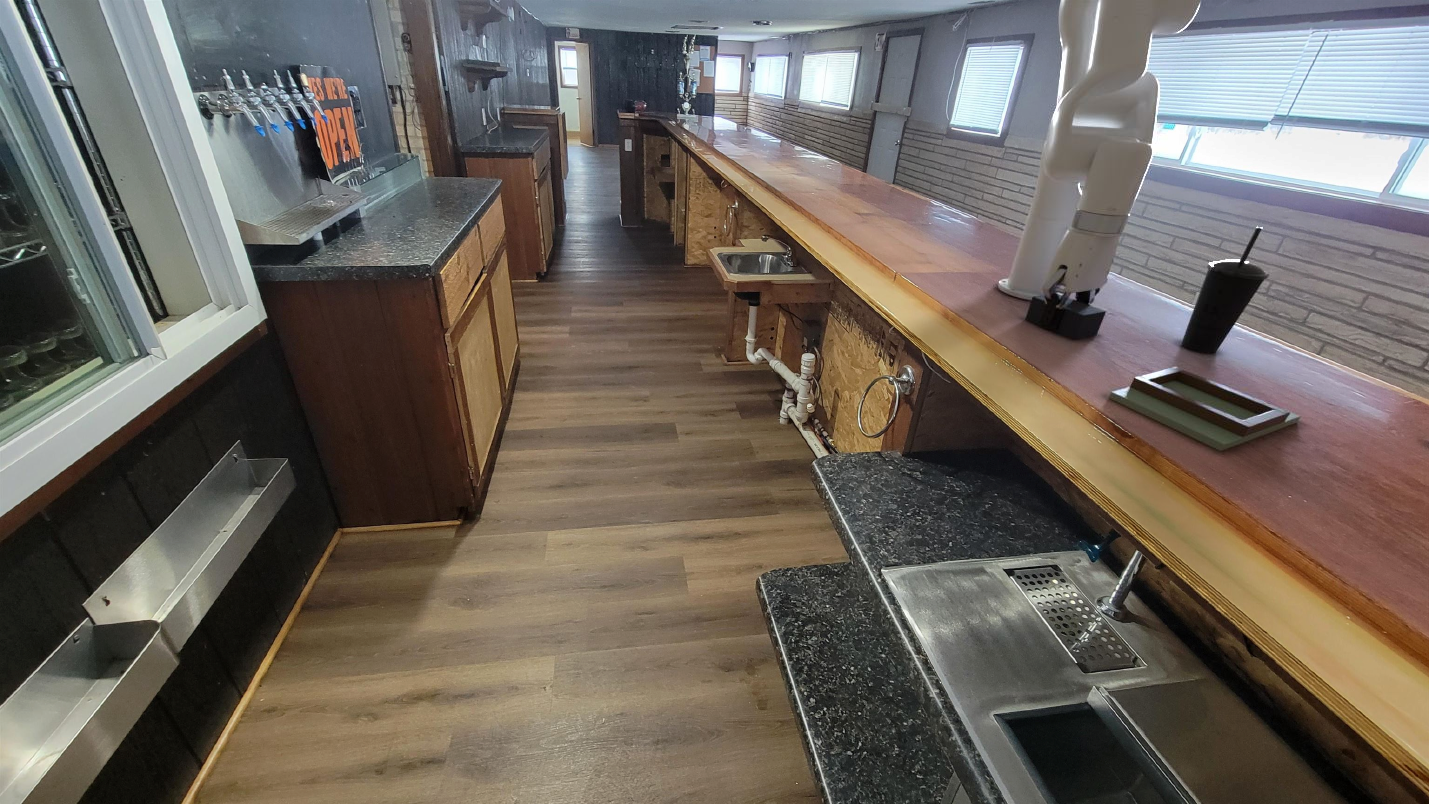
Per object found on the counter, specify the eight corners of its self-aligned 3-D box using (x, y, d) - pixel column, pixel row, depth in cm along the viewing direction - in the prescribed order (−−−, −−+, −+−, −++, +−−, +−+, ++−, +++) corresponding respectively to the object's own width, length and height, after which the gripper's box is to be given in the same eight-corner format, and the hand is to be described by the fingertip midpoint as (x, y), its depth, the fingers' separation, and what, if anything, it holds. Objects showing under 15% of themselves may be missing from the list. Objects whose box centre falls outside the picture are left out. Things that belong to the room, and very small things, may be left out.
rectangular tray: (1184, 377, 85) (1191, 362, 84) (1297, 422, 74) (1307, 406, 73) (1108, 397, 79) (1115, 382, 77) (1220, 451, 68) (1231, 433, 66)
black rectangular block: (1024, 319, 105) (1032, 296, 102) (1046, 315, 107) (1054, 293, 105) (1074, 340, 97) (1083, 315, 94) (1096, 335, 99) (1106, 311, 97)
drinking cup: (1175, 335, 100) (1231, 220, 91) (1229, 349, 96) (1294, 229, 86) (1166, 346, 96) (1224, 226, 86) (1222, 361, 91) (1290, 236, 81)
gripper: (1109, 215, 99) (1073, 312, 108) (1042, 221, 92) (1009, 323, 101) (1153, 225, 93) (1111, 326, 102) (1085, 231, 86) (1046, 339, 95)
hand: (1061, 324), depth 101 cm, fingers closed on black rectangular block, 6 cm apart
